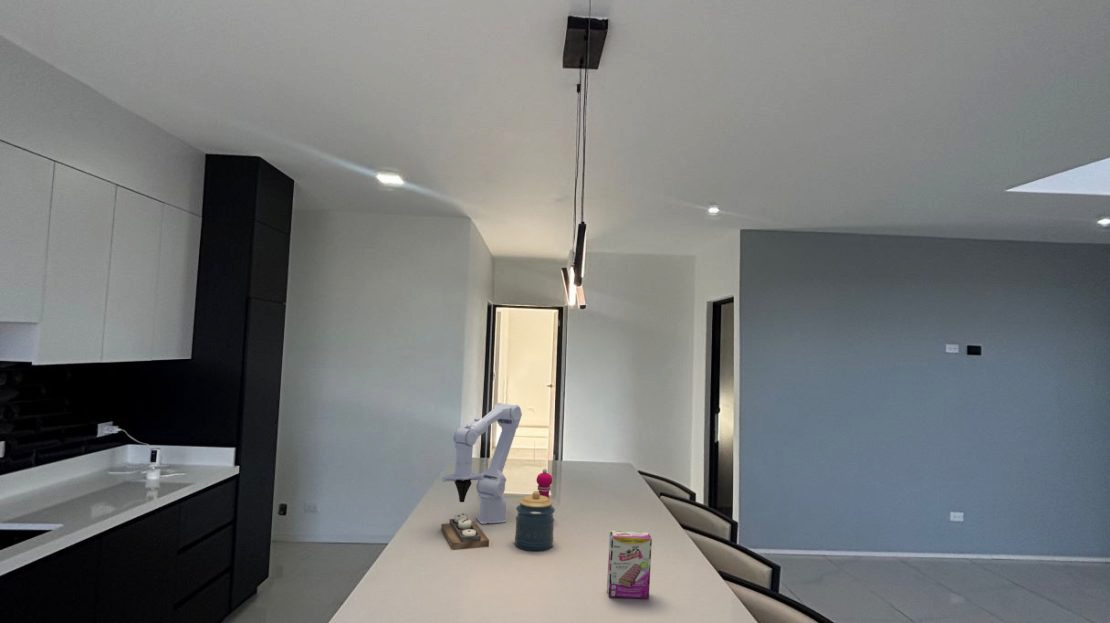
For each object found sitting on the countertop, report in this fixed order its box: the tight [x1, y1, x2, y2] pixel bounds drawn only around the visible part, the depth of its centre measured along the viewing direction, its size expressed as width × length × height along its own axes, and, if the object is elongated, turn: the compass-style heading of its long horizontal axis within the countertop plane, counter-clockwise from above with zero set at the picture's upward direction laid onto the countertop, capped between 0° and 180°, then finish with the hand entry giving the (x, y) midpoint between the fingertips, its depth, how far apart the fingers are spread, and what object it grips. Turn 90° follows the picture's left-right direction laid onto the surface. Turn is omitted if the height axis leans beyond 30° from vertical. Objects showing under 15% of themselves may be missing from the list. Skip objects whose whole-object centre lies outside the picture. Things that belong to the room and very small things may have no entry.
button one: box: [462, 529, 476, 537], centre depth 189 cm, size 4×4×2 cm
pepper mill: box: [536, 468, 553, 507], centre depth 216 cm, size 7×7×20 cm
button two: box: [453, 512, 468, 523], centre depth 201 cm, size 4×4×2 cm
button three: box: [458, 518, 472, 529], centre depth 195 cm, size 4×4×2 cm
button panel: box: [440, 517, 490, 550], centre depth 195 cm, size 12×20×4 cm, turn 22°
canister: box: [514, 490, 556, 552], centre depth 192 cm, size 13×13×18 cm
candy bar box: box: [606, 530, 653, 600], centre depth 156 cm, size 11×5×16 cm, turn 92°
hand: (461, 501), depth 201 cm, fingers closed
